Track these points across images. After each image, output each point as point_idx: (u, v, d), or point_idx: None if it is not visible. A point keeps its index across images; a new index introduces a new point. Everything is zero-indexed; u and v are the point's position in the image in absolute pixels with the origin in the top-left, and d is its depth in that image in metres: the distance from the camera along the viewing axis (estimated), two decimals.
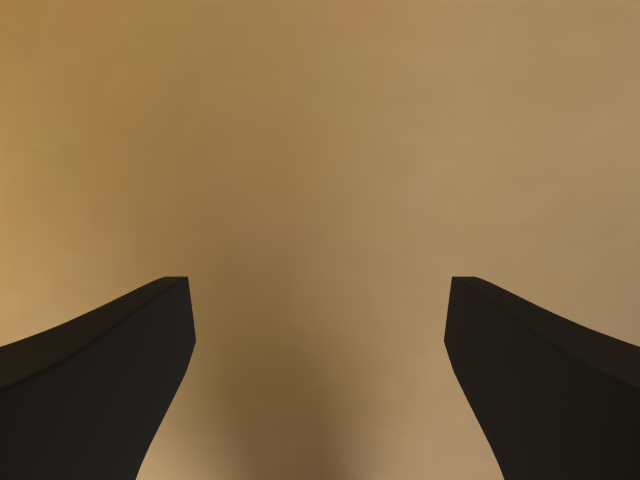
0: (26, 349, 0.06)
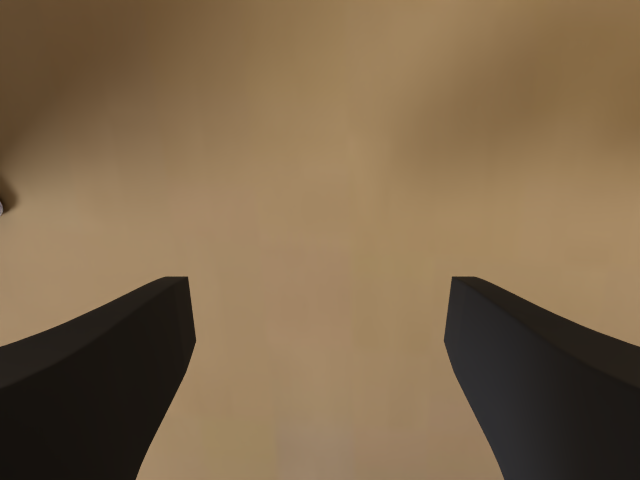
0: (25, 349, 0.06)
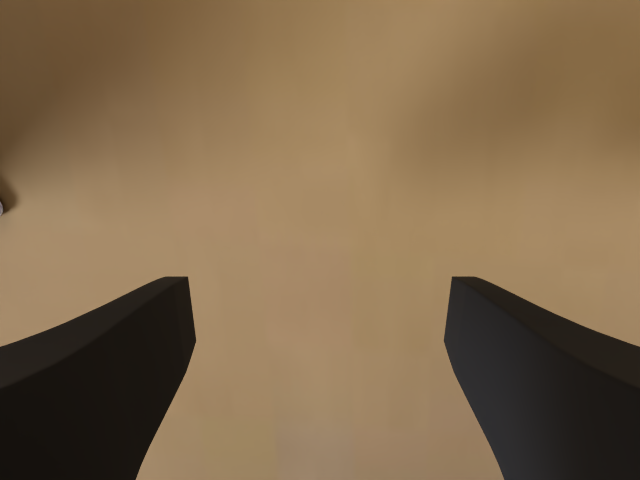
0: (25, 349, 0.06)
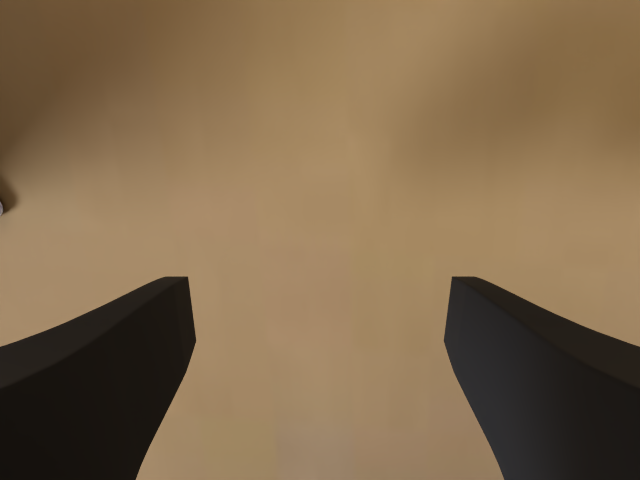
0: (25, 349, 0.06)
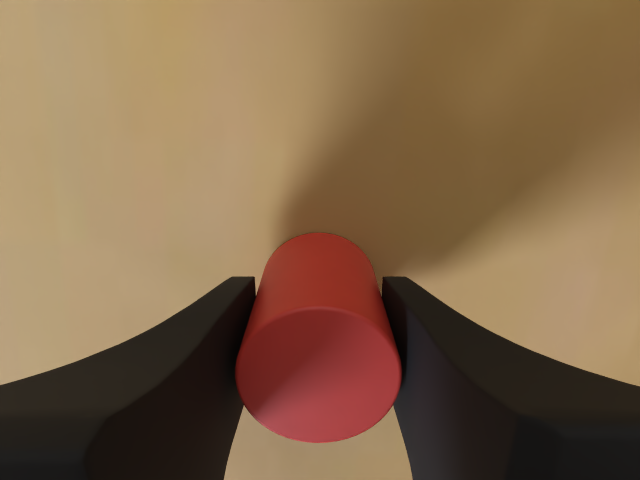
0: (140, 349, 0.06)
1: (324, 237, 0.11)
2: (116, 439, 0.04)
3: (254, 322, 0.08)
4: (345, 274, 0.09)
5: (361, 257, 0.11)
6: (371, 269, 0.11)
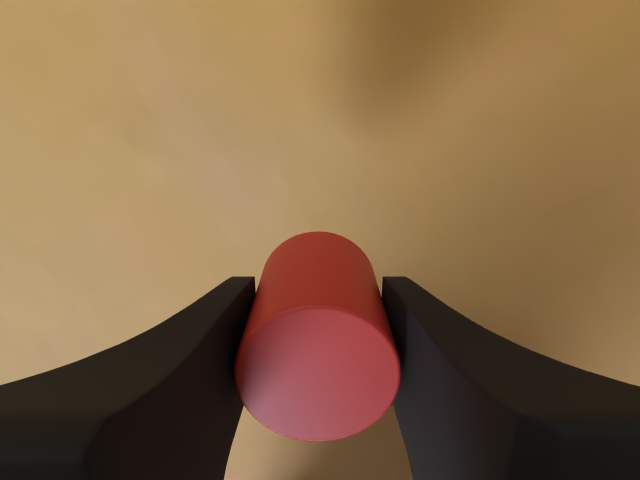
0: (140, 349, 0.06)
1: (323, 236, 0.11)
2: (116, 439, 0.04)
3: (253, 321, 0.08)
4: (344, 272, 0.09)
5: (360, 256, 0.11)
6: (370, 268, 0.11)
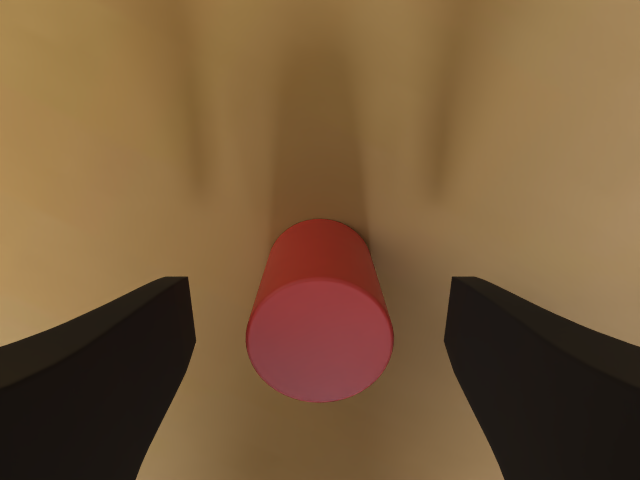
0: (25, 349, 0.06)
1: (325, 222, 0.12)
2: None
3: (263, 293, 0.09)
4: (344, 253, 0.10)
5: (358, 241, 0.12)
6: (368, 252, 0.12)
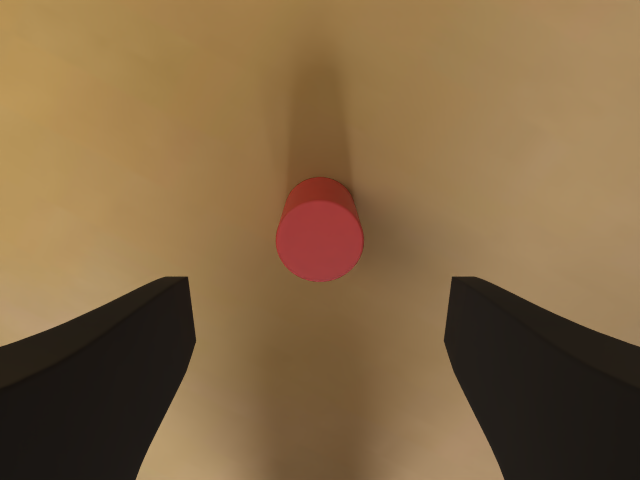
0: (26, 349, 0.06)
1: (323, 179, 0.19)
2: None
3: (286, 212, 0.16)
4: (335, 192, 0.17)
5: (345, 190, 0.18)
6: (351, 198, 0.19)
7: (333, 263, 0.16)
